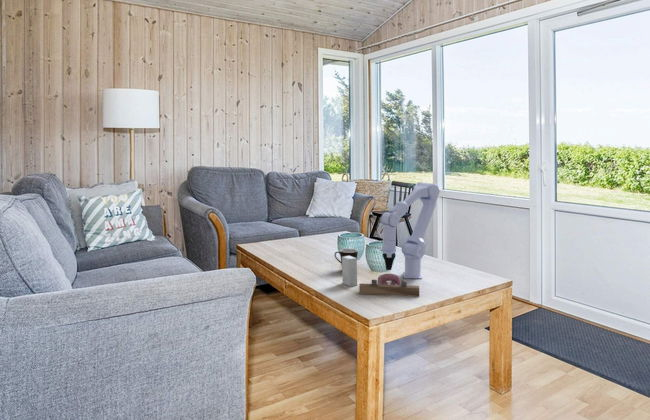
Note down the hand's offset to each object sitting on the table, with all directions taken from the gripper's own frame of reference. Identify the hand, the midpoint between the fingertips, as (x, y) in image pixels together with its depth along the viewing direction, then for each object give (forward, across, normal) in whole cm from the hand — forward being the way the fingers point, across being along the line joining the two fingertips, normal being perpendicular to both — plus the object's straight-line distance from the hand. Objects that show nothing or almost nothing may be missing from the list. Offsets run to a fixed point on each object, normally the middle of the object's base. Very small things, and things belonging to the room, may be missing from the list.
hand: (388, 269), depth 202 cm
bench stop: (+5, +18, 0) cm, 19 cm away
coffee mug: (+6, -17, -20) cm, 27 cm away
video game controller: (+6, +9, 0) cm, 11 cm away
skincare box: (+6, +6, -17) cm, 19 cm away
